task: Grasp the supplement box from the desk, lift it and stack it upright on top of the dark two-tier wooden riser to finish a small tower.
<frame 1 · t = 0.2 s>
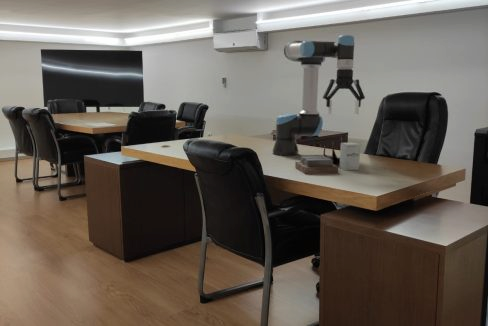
hand: (343, 114, 229), 27 cm above the table, fingers open, 13 cm apart
letter holder: (332, 163, 251), on the table
riser: (316, 170, 228), on the table
supplement box: (349, 169, 234), on the table
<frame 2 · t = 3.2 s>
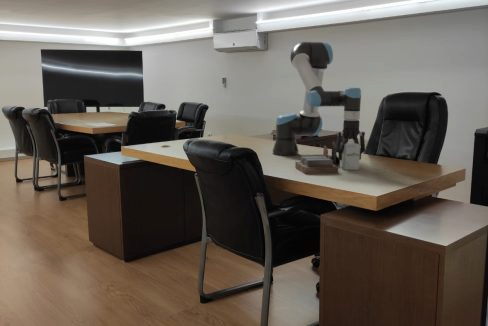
hand: (349, 166, 234), 1 cm above the table, fingers closed on supplement box, 7 cm apart
supplement box: (349, 169, 234), on the table, touching gripper
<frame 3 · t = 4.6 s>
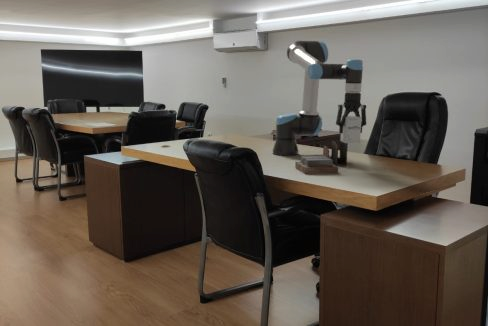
hand: (350, 139, 232), 14 cm above the table, fingers closed on supplement box, 7 cm apart
supplement box: (350, 142, 233), point 13 cm above the table, touching gripper
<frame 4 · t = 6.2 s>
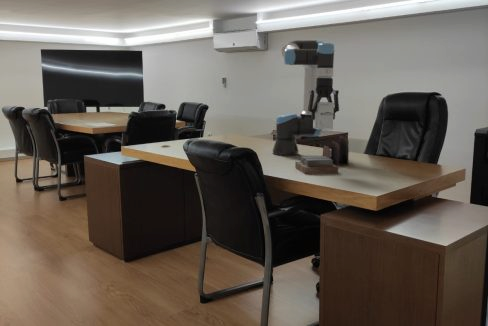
hand: (322, 126, 226), 21 cm above the table, fingers closed on supplement box, 7 cm apart
supplement box: (322, 129, 226), point 20 cm above the table, touching gripper
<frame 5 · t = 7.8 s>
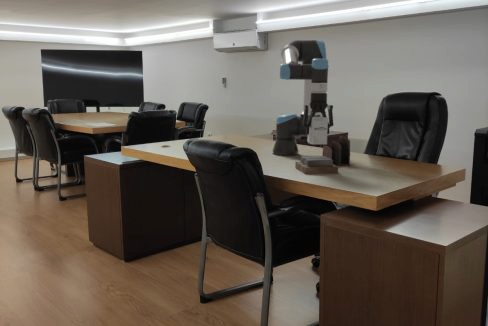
hand: (317, 141, 226), 14 cm above the table, fingers closed on supplement box, 7 cm apart
supplement box: (317, 144, 226), point 13 cm above the table, touching gripper
when the fingers open (9 cm above the table, at t = 9.2 s): supplement box drops 1 cm, resting on riser.
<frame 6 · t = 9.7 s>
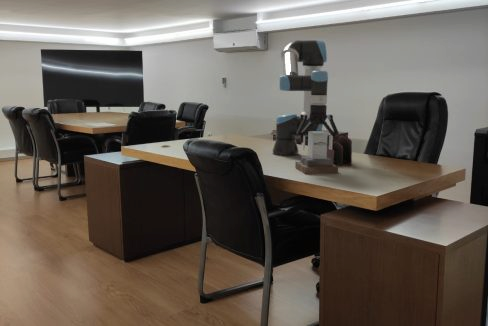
hand: (316, 149, 227), 10 cm above the table, fingers open, 13 cm apart
supplement box: (316, 158, 227), point 6 cm above the table, touching riser
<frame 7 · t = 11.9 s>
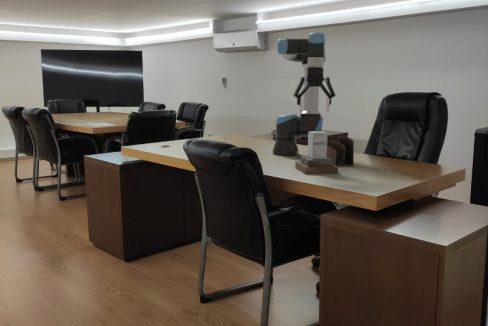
hand: (313, 111, 229), 28 cm above the table, fingers open, 13 cm apart
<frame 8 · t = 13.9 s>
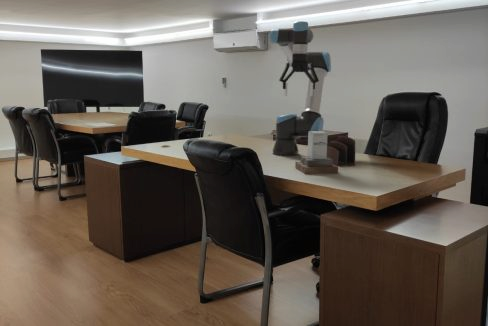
hand: (298, 95, 244), 35 cm above the table, fingers open, 13 cm apart
at the end: supplement box inside the target area on the riser (0.2 cm from its centre), point 5.8 cm above the riser's base; supplement box tilted 0°; the gripper is holding nothing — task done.
